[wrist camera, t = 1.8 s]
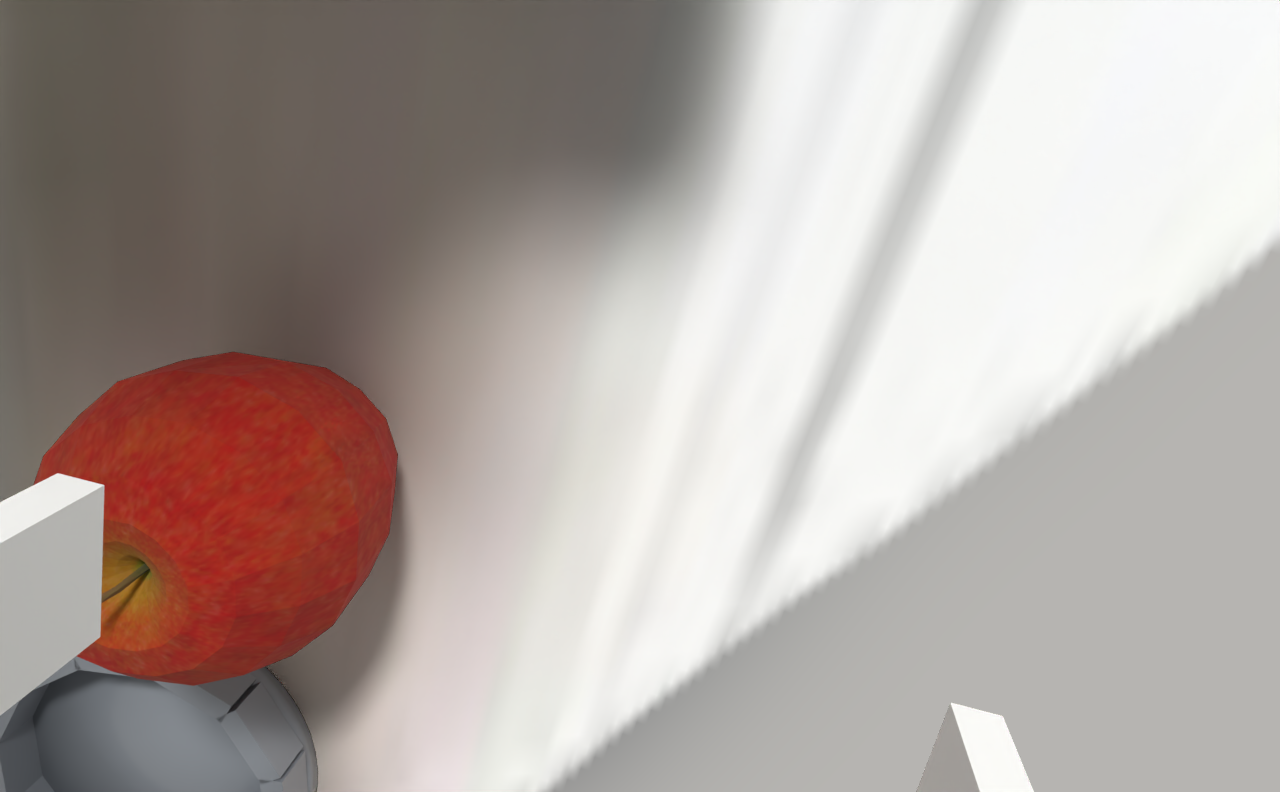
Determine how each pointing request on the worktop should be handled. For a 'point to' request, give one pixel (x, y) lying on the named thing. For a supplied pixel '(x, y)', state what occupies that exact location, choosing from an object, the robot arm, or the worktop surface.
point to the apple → (228, 511)
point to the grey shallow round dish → (155, 735)
